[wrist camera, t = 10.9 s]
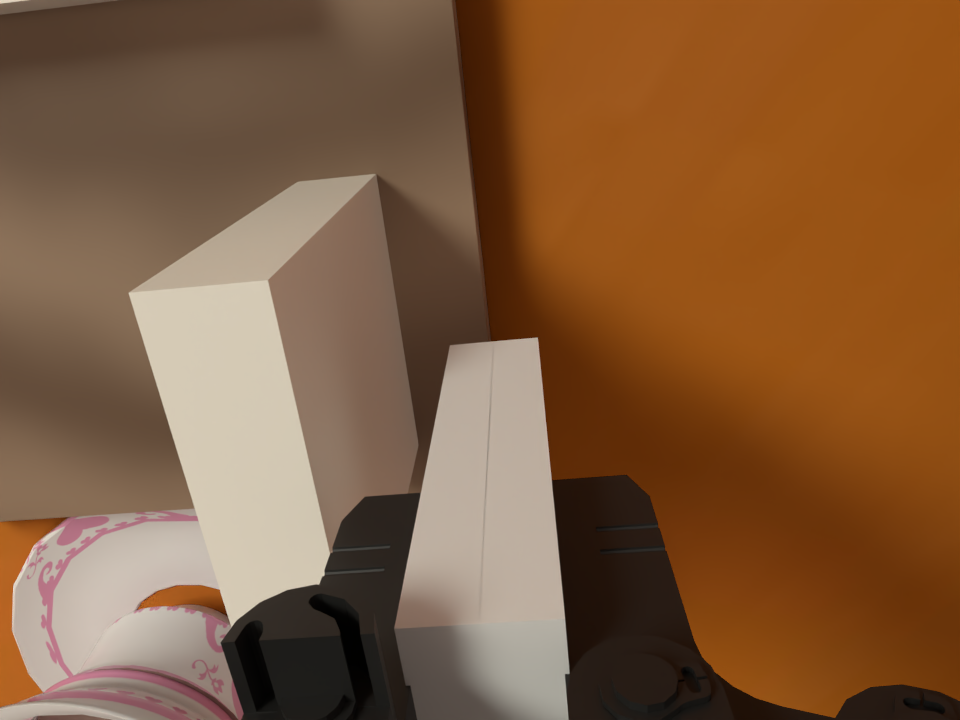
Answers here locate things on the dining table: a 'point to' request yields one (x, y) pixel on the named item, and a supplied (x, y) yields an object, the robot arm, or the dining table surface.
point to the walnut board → (205, 206)
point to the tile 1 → (40, 4)
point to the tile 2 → (283, 381)
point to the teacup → (120, 623)
